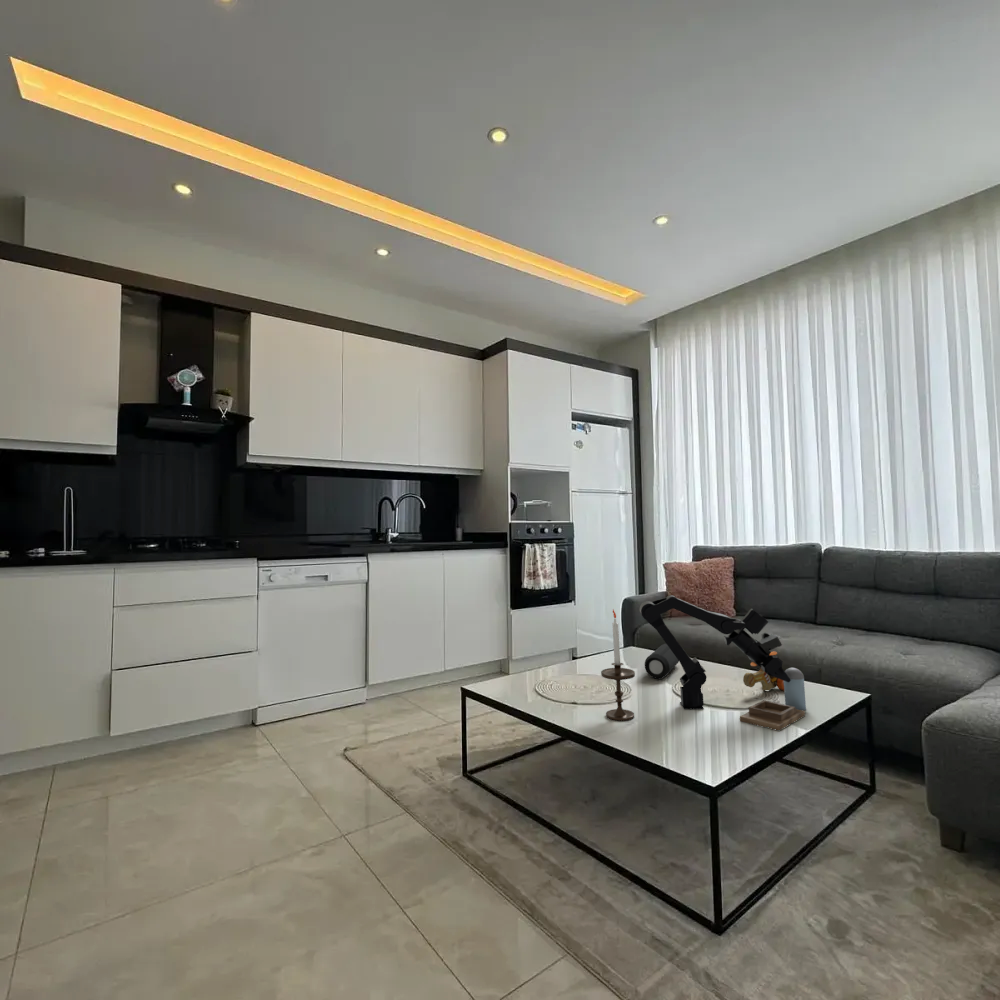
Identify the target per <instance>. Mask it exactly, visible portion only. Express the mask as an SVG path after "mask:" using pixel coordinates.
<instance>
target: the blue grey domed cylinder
mask: <svg viewBox="0 0 1000 1000" xmlns="http://www.w3.org/2000/svg"><path fill="white" fill-rule="evenodd" d="M784 671H785V673H786V674H787V675H788V677H789V678H790V679H791V681H790V682H786V681H784V690H783V692H784V705H789V706H793V707H796V709H798V710H803V711H805V710H806V709H807V708H806V707H807V706H806V705H807V703H806V690H805V676H804V674H803V671H801V670H800V669H798V668H796V667H789V668H786V669H785V670H784Z"/></svg>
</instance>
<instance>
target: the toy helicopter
mask: <svg viewBox="0 0 1000 1000" xmlns="http://www.w3.org/2000/svg"><path fill="white" fill-rule="evenodd" d="M770 652H771V653H770V655H775V656H777V655H778V652H777V651H775V650H774V651H772V650H771V651H770ZM750 666H751V667H757V666H758V665H756V664H755V663H754V662H752V661H751V662H750ZM742 680H743V685H745V686H746V687H749V688H753V687H754V686H755V685H756V684H758V683H760V684H761V688H762V689H761V690H763V689H764V690H770V691H771V689H775V688H776V687H777V688H778V690H780V691H784V680H781V679H778V678H776V677H773V676H770V675H768V674H767V673H766V672H765V671H763V670H762V669H761V667H760V669H759V670H758V671H756V672H745V674H744V675H743V679H742ZM764 690H763V691H764Z"/></svg>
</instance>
